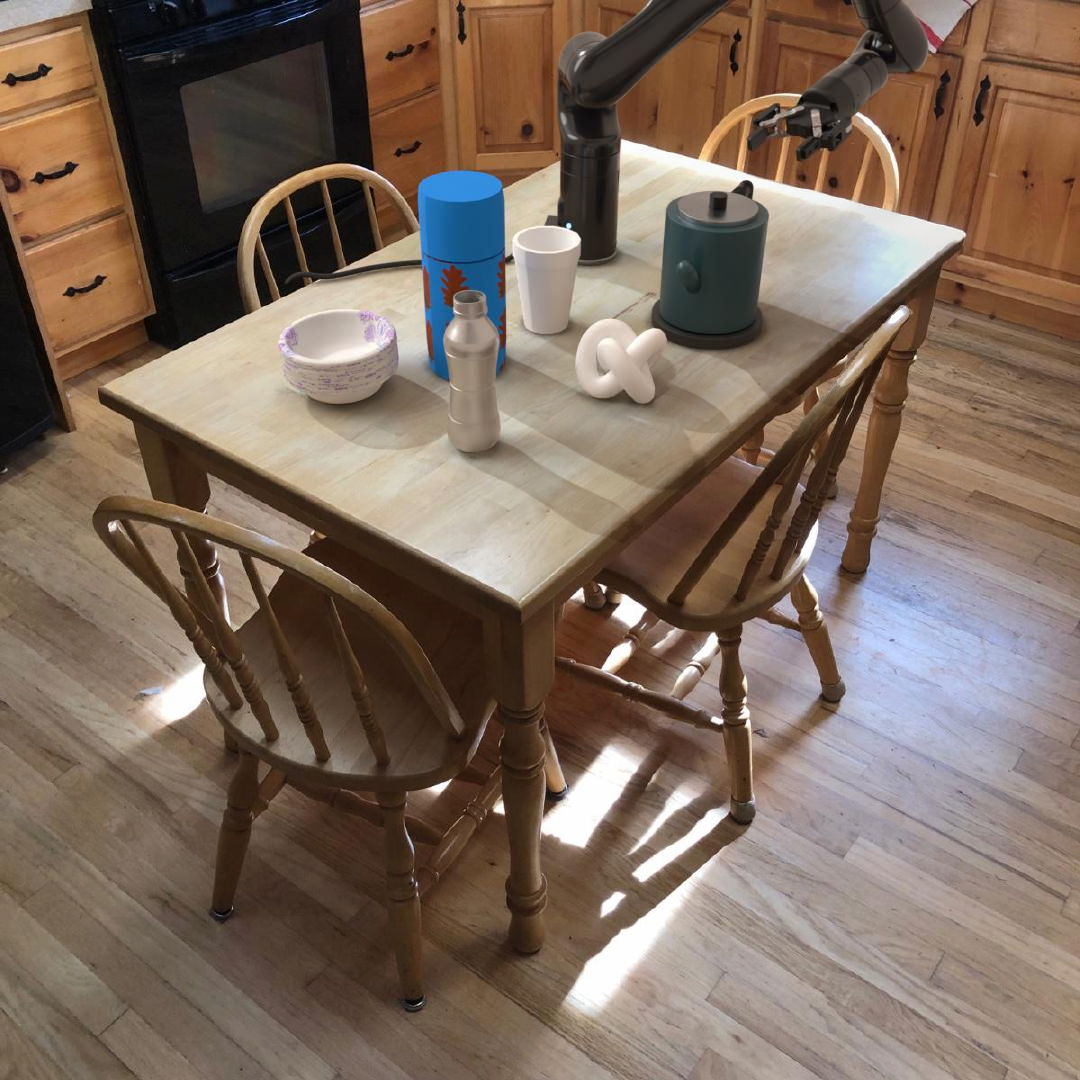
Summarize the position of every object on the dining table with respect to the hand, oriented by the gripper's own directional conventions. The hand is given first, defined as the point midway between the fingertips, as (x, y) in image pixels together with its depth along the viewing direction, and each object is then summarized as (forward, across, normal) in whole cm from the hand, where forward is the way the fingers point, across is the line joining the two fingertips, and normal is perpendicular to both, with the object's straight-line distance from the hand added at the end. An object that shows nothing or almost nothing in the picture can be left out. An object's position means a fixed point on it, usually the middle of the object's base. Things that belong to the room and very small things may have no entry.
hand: (773, 150), depth 173 cm
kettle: (+22, +3, +13) cm, 26 cm away
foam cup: (+39, -14, +10) cm, 42 cm away
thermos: (+54, -14, +6) cm, 56 cm away
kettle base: (+23, +3, +15) cm, 27 cm away
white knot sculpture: (+46, +7, +10) cm, 48 cm away
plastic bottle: (+67, +2, +4) cm, 67 cm away
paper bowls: (+69, -21, +2) cm, 72 cm away
